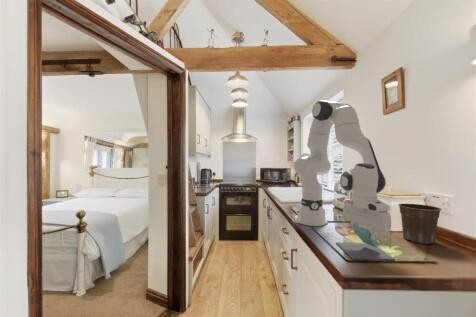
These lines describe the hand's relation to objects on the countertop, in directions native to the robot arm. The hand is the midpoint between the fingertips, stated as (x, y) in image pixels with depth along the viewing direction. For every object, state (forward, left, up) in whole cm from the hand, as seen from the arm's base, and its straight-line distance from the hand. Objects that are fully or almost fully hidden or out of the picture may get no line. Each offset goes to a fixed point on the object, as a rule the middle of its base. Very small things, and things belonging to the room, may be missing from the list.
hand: (364, 236), depth 97 cm
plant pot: (-16, +33, -6) cm, 38 cm away
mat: (+1, -1, -6) cm, 6 cm away
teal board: (-2, +4, -3) cm, 5 cm away
